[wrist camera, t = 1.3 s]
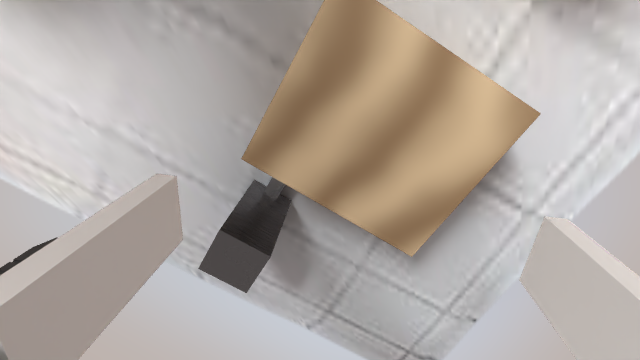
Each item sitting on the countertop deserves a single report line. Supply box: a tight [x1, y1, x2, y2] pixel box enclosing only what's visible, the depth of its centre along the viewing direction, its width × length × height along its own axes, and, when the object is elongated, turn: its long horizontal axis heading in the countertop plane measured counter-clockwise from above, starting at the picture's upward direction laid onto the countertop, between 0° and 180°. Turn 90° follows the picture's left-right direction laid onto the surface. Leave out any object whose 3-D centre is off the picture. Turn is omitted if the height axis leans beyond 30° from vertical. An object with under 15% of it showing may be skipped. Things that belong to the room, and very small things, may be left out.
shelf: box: [242, 0, 540, 257], centre depth 27 cm, size 16×14×8 cm
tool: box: [198, 177, 291, 293], centre depth 28 cm, size 4×20×10 cm, turn 149°
